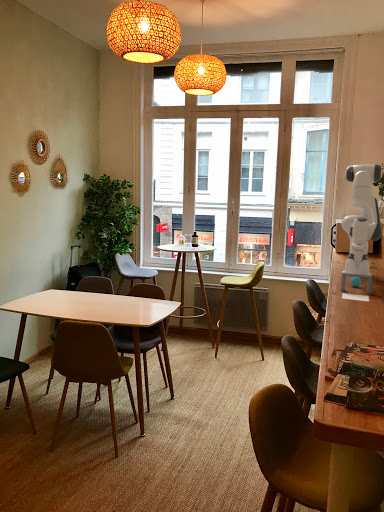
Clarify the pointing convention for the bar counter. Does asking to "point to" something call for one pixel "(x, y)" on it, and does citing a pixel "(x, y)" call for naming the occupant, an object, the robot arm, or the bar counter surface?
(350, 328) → the bar counter surface
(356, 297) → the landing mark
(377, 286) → the bar counter surface
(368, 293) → the bridge
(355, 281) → the ball
